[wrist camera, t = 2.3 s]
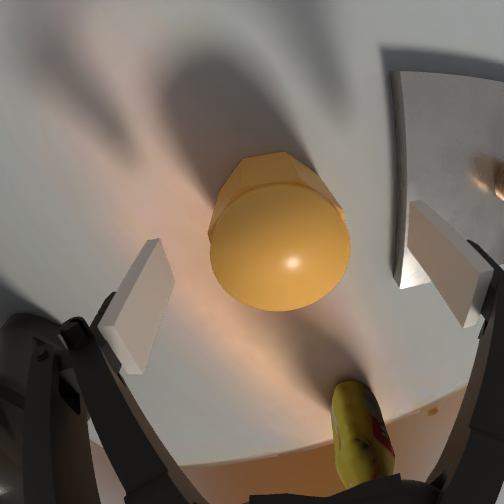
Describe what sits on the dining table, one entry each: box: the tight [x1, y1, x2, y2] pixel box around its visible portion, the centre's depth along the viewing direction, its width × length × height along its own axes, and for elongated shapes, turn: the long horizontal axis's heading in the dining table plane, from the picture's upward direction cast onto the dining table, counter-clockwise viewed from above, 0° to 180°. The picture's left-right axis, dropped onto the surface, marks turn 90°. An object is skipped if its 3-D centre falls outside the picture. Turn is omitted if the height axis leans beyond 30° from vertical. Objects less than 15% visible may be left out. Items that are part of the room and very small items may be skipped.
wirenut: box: [208, 151, 350, 311], centre depth 17 cm, size 7×7×7 cm
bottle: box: [331, 381, 395, 490], centre depth 24 cm, size 12×6×20 cm, turn 19°
